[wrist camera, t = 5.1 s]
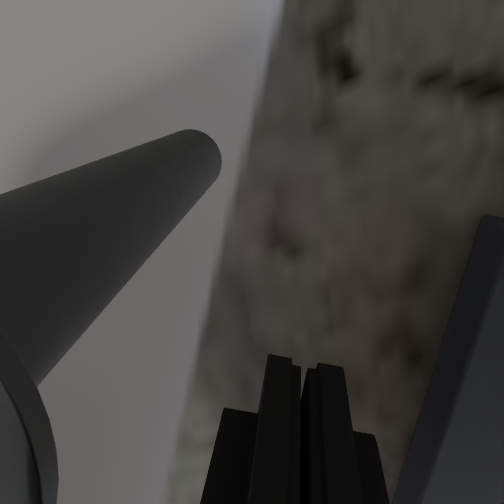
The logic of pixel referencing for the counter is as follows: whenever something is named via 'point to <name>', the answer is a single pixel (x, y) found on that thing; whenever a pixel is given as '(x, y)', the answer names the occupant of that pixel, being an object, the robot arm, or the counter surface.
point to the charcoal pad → (465, 392)
